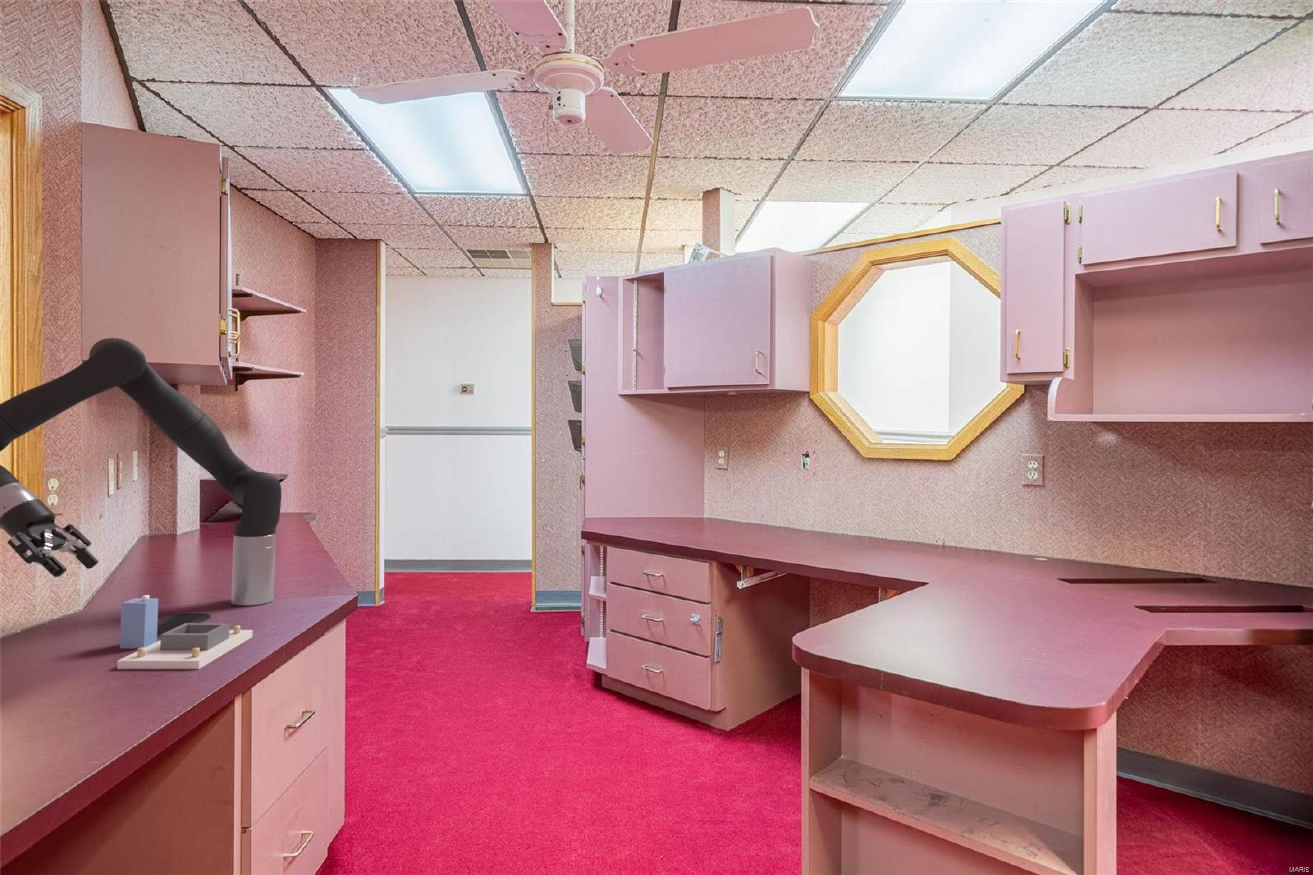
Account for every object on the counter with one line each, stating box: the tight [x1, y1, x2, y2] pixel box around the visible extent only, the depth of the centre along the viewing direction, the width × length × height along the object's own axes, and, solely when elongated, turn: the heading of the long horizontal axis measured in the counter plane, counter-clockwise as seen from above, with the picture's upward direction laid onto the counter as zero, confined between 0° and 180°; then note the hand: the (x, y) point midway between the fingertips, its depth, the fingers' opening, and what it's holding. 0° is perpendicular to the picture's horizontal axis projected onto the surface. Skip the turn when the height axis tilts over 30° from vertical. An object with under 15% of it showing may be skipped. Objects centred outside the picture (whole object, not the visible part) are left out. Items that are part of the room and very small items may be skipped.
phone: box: [157, 613, 211, 637], centre depth 151 cm, size 8×1×15 cm
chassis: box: [116, 622, 254, 670], centre depth 134 cm, size 20×14×4 cm
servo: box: [119, 594, 159, 649], centre depth 137 cm, size 4×4×10 cm
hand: (78, 569), depth 135 cm, fingers open, 8 cm apart
